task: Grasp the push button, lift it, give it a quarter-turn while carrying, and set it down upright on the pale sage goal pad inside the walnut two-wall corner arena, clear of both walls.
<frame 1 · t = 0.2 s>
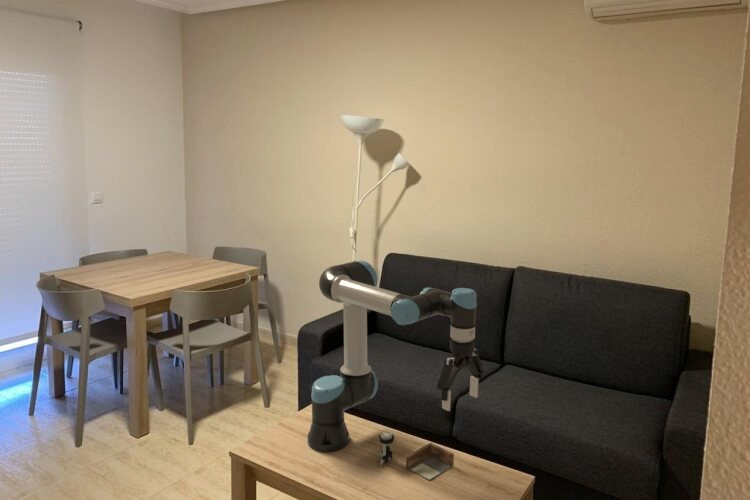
hand: (460, 402, 187), 28 cm above the table, fingers open, 13 cm apart
push button: (385, 462, 204), on the table
arena: (427, 468, 200), on the table
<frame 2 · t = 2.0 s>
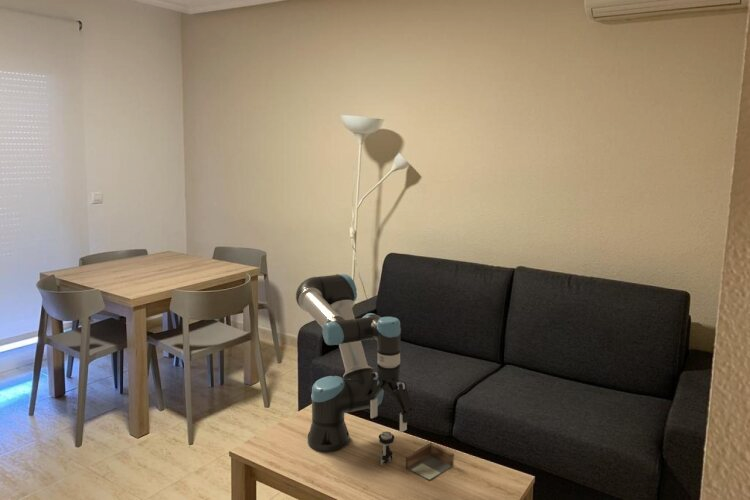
hand: (388, 423, 200), 15 cm above the table, fingers open, 13 cm apart
nothing on the table moved.
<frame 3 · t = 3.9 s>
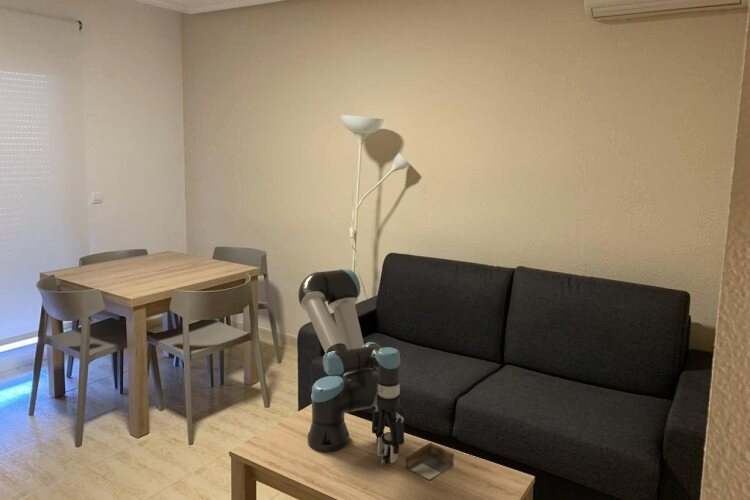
hand: (387, 457, 203), 2 cm above the table, fingers closed on push button, 5 cm apart
push button: (385, 461, 204), on the table, touching gripper
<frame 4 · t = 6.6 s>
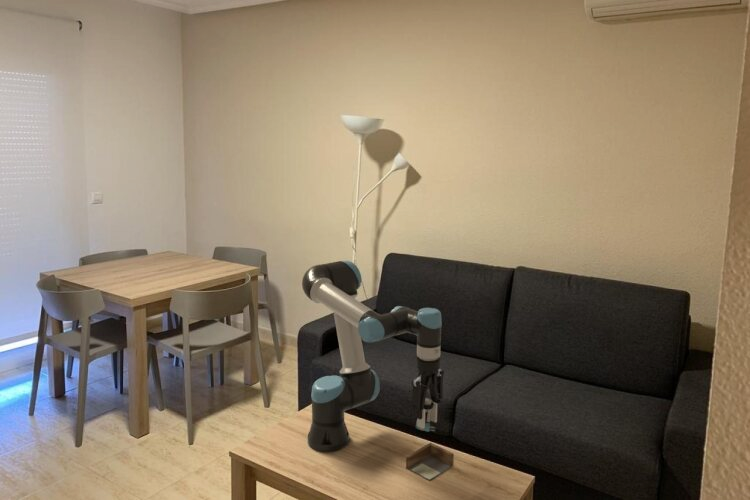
hand: (427, 423, 194), 18 cm above the table, fingers closed on push button, 5 cm apart
push button: (424, 430, 194), point 16 cm above the table, touching gripper
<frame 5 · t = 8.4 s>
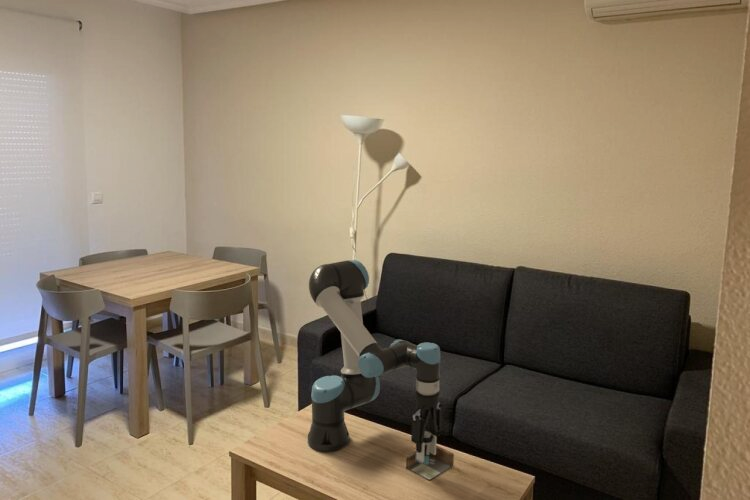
hand: (426, 456, 197), 6 cm above the table, fingers closed on push button, 5 cm apart
push button: (424, 463, 196), point 4 cm above the table, touching gripper
when the fingers open (4 cm above the table, at t = 9.6 s): push button drops 2 cm, resting on arena.
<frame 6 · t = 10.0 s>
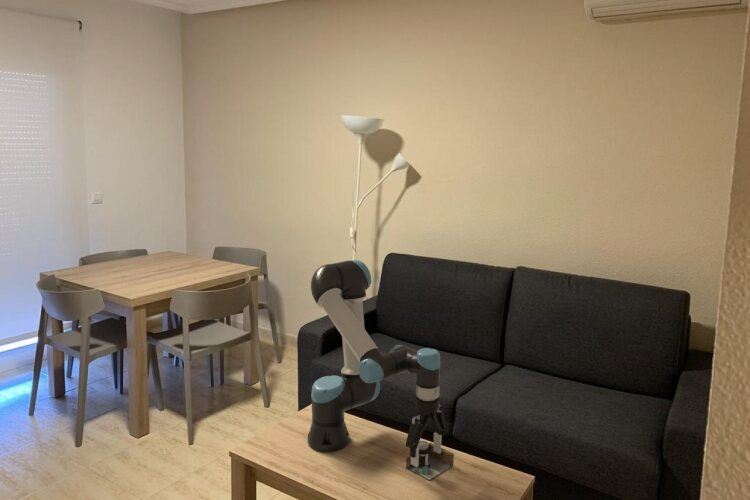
hand: (426, 458, 197), 5 cm above the table, fingers open, 11 cm apart
push button: (424, 472, 197), resting on arena
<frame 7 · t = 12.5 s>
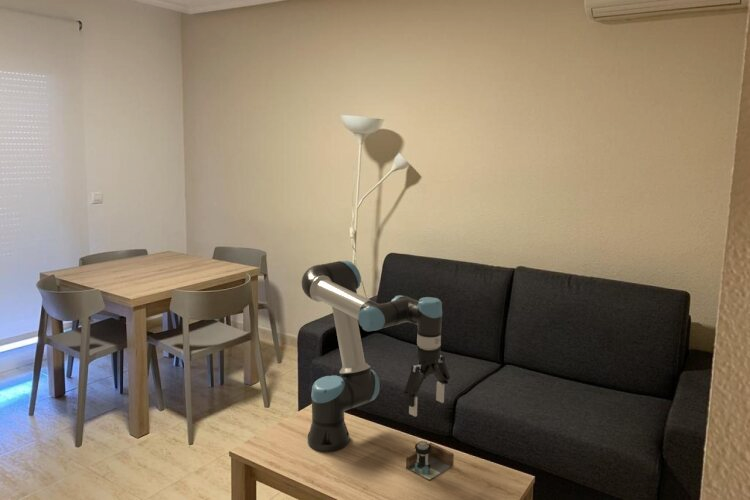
hand: (426, 408, 193), 23 cm above the table, fingers open, 13 cm apart
nothing on the table moved.
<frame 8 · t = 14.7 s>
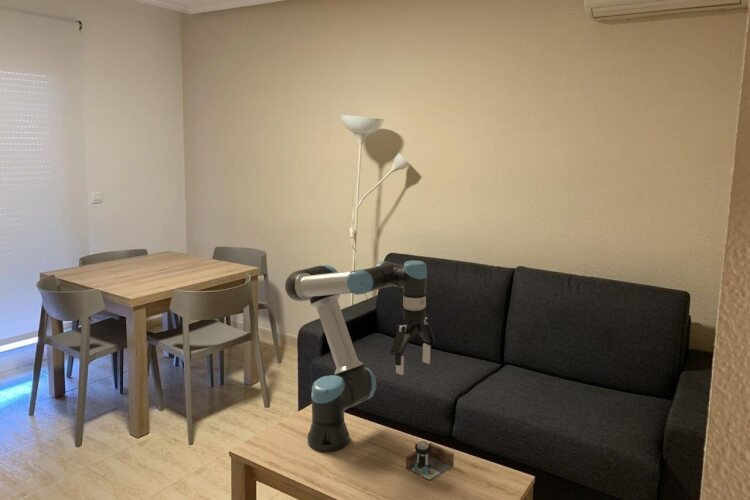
hand: (413, 368, 201), 33 cm above the table, fingers open, 13 cm apart
nothing on the table moved.
at the end: push button 2.0 cm from the target spot, resting on arena; push button tilted 0°; the gripper is holding nothing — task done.
